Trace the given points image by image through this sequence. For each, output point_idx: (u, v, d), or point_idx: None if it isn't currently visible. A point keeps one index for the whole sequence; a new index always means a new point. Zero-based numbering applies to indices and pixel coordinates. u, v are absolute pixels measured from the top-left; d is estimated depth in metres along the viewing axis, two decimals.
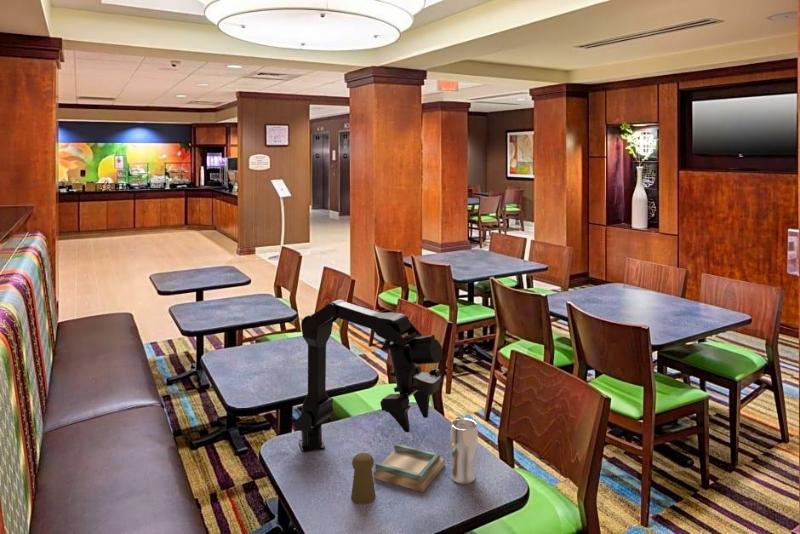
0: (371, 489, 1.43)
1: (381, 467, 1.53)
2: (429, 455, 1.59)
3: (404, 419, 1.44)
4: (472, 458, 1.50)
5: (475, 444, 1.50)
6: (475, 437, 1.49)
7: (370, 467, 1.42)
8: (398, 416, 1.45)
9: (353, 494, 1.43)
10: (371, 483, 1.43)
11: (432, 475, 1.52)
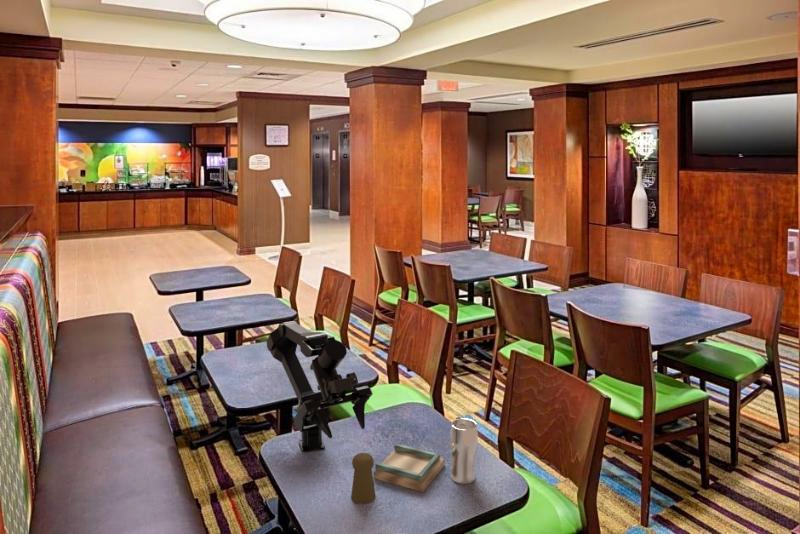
0: (371, 489, 1.43)
1: (381, 467, 1.53)
2: (429, 455, 1.59)
3: (322, 423, 1.47)
4: (472, 458, 1.50)
5: (475, 444, 1.50)
6: (475, 437, 1.49)
7: (370, 467, 1.42)
8: (319, 423, 1.49)
9: (353, 494, 1.43)
10: (371, 483, 1.43)
11: (432, 475, 1.52)
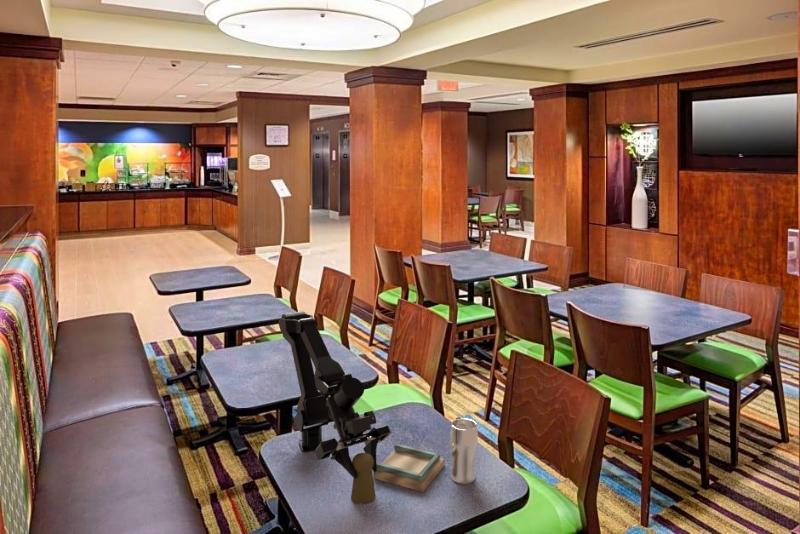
0: (371, 489, 1.43)
1: (381, 467, 1.53)
2: (429, 455, 1.59)
3: (347, 463, 1.42)
4: (472, 458, 1.50)
5: (475, 444, 1.50)
6: (475, 437, 1.49)
7: (370, 467, 1.42)
8: (344, 462, 1.43)
9: (353, 494, 1.43)
10: (371, 483, 1.43)
11: (432, 475, 1.52)
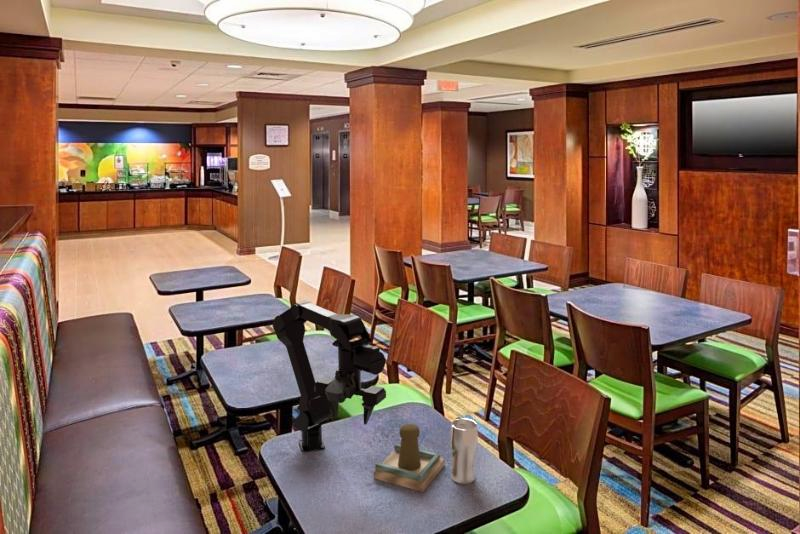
0: (419, 454, 1.55)
1: (381, 467, 1.53)
2: (429, 455, 1.59)
3: None
4: (472, 458, 1.50)
5: (475, 444, 1.50)
6: (475, 437, 1.49)
7: None
8: None
9: (405, 464, 1.53)
10: (418, 449, 1.55)
11: (432, 475, 1.52)
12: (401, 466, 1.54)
